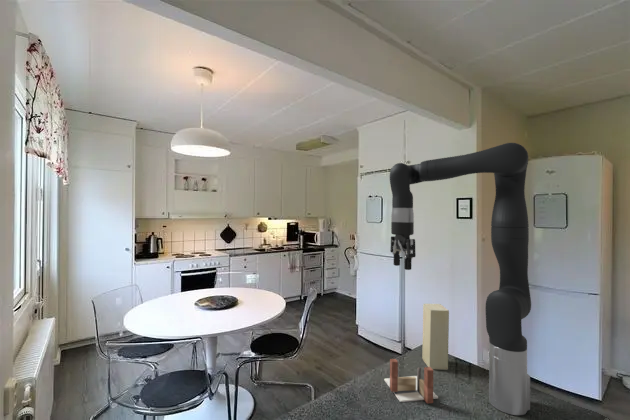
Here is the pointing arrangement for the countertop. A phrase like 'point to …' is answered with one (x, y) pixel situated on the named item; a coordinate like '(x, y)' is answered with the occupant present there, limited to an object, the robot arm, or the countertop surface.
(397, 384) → the toy gate half
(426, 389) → the brown piece
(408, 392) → the card
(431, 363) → the upright wooden block
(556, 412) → the countertop surface
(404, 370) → the countertop surface
